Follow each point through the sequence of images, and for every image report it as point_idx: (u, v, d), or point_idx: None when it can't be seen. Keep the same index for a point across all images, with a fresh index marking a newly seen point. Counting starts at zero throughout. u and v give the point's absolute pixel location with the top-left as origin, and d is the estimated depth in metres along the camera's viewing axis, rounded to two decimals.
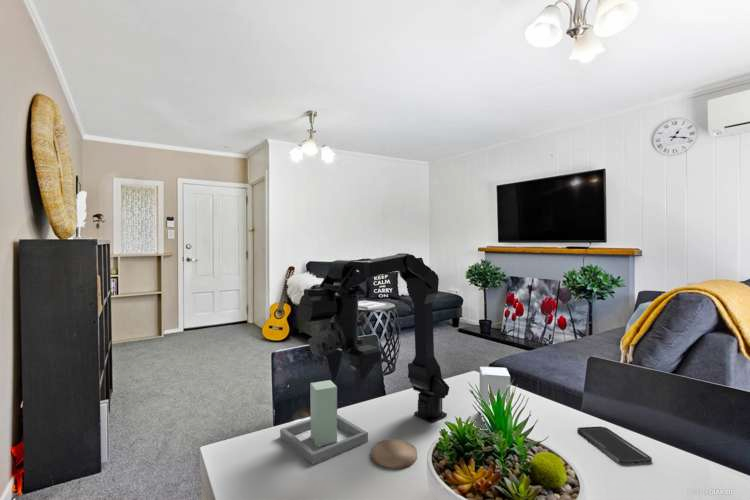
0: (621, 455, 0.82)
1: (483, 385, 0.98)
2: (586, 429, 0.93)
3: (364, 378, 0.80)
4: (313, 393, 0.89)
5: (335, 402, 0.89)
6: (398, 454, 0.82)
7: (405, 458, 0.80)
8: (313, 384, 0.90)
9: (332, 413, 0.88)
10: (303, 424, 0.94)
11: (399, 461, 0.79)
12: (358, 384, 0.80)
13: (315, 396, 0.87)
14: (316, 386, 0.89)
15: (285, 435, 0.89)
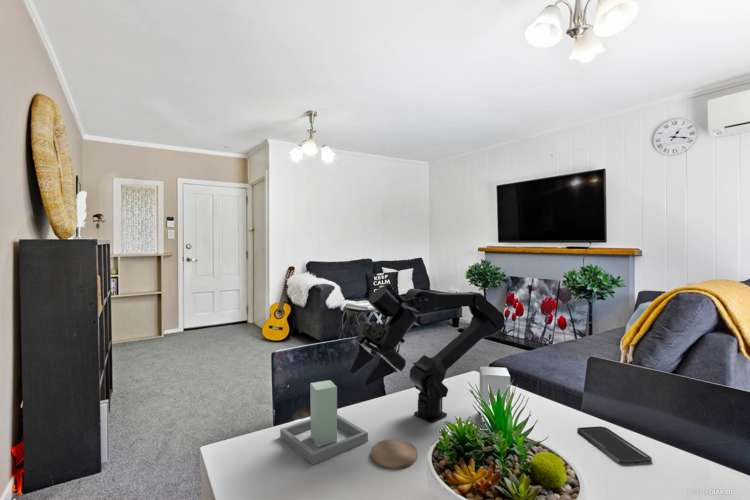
0: (621, 455, 0.82)
1: (483, 385, 0.98)
2: (586, 429, 0.93)
3: (378, 377, 0.90)
4: (313, 393, 0.89)
5: (335, 402, 0.89)
6: (398, 454, 0.82)
7: (405, 458, 0.80)
8: (313, 384, 0.90)
9: (332, 413, 0.88)
10: (303, 424, 0.94)
11: (399, 461, 0.79)
12: (370, 377, 0.89)
13: (315, 396, 0.87)
14: (316, 386, 0.89)
15: (285, 435, 0.89)
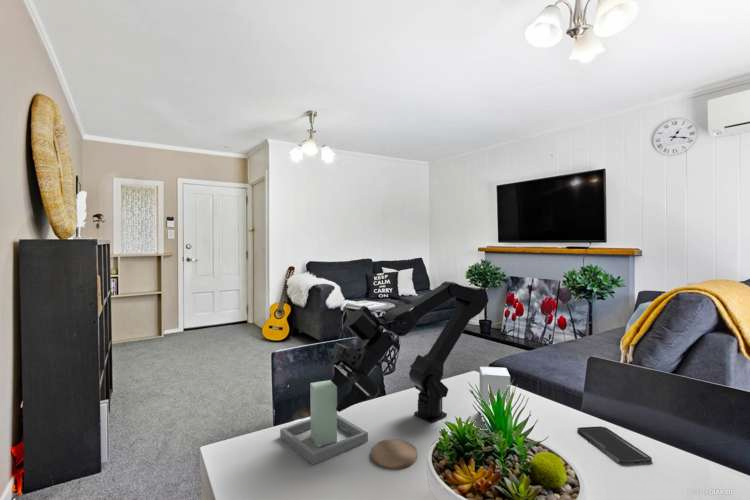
0: (622, 455, 0.82)
1: (483, 385, 0.98)
2: (586, 429, 0.93)
3: (350, 403, 0.87)
4: (313, 393, 0.89)
5: (335, 402, 0.89)
6: (398, 454, 0.82)
7: (405, 458, 0.80)
8: (313, 384, 0.90)
9: (332, 413, 0.88)
10: (303, 424, 0.94)
11: (399, 461, 0.79)
12: (343, 403, 0.86)
13: (315, 396, 0.87)
14: (316, 386, 0.89)
15: (285, 435, 0.89)
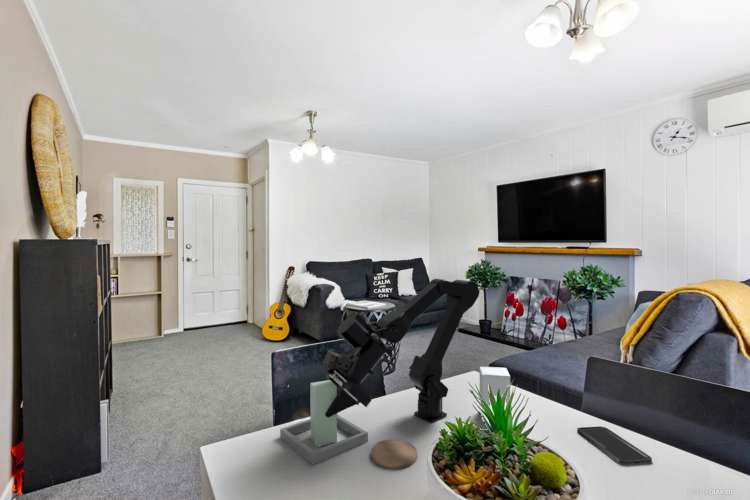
0: (622, 455, 0.82)
1: (483, 385, 0.98)
2: (586, 429, 0.93)
3: (339, 409, 0.88)
4: (313, 393, 0.89)
5: None
6: (398, 454, 0.82)
7: (405, 458, 0.80)
8: (313, 384, 0.90)
9: None
10: (303, 424, 0.94)
11: (399, 461, 0.79)
12: (332, 408, 0.87)
13: (315, 396, 0.87)
14: (316, 386, 0.89)
15: (285, 435, 0.89)
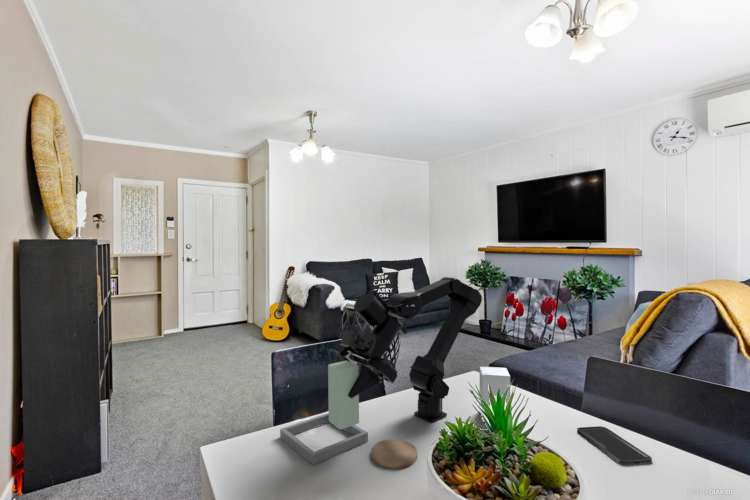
0: (622, 455, 0.82)
1: (483, 385, 0.98)
2: (586, 429, 0.93)
3: (362, 388, 0.84)
4: (333, 374, 0.84)
5: None
6: (398, 454, 0.82)
7: (405, 458, 0.80)
8: (332, 365, 0.86)
9: None
10: (303, 424, 0.94)
11: (399, 461, 0.79)
12: (355, 388, 0.84)
13: (338, 377, 0.83)
14: (337, 367, 0.84)
15: (285, 435, 0.89)
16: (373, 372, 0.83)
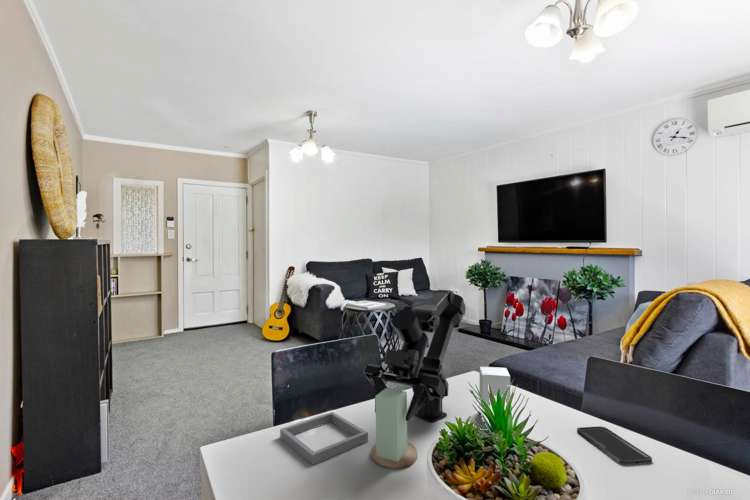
0: (622, 455, 0.82)
1: (483, 385, 0.98)
2: (586, 429, 0.93)
3: (417, 409, 0.82)
4: (385, 406, 0.80)
5: (406, 408, 0.82)
6: None
7: (405, 458, 0.80)
8: (381, 396, 0.80)
9: (404, 421, 0.82)
10: (303, 424, 0.94)
11: (399, 461, 0.79)
12: (412, 411, 0.80)
13: (393, 408, 0.79)
14: (388, 397, 0.80)
15: (285, 435, 0.89)
16: (429, 391, 0.82)
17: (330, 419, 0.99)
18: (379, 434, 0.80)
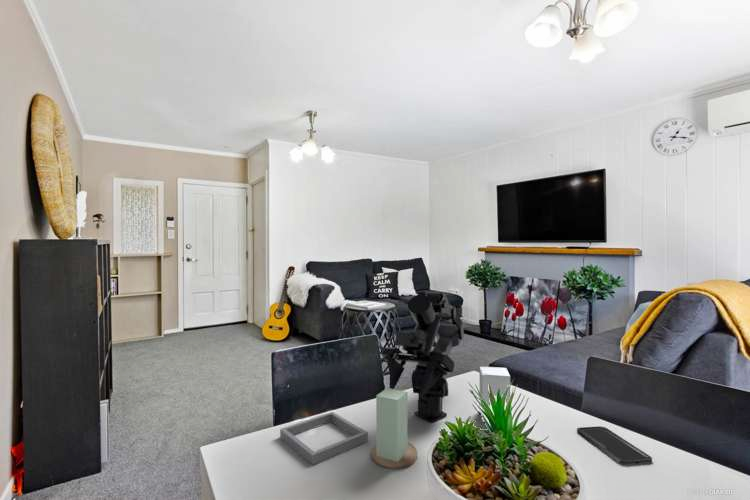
0: (622, 455, 0.82)
1: (483, 385, 0.98)
2: (586, 429, 0.93)
3: (431, 383, 0.89)
4: (386, 405, 0.80)
5: (406, 409, 0.83)
6: None
7: (405, 458, 0.80)
8: (382, 395, 0.81)
9: (405, 421, 0.82)
10: (303, 424, 0.94)
11: (399, 461, 0.79)
12: (426, 385, 0.88)
13: (394, 407, 0.79)
14: (389, 396, 0.80)
15: (285, 435, 0.89)
16: (440, 366, 0.88)
17: (330, 419, 0.99)
18: (379, 434, 0.81)
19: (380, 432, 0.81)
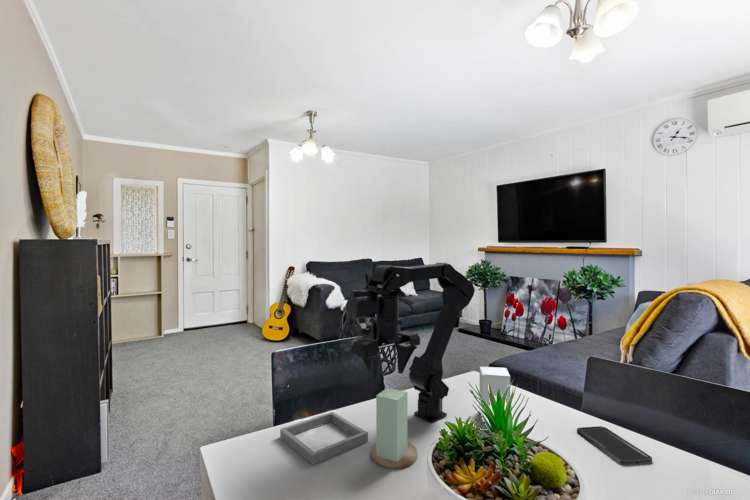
0: (622, 455, 0.82)
1: (483, 385, 0.98)
2: (585, 429, 0.93)
3: (371, 370, 0.91)
4: (386, 405, 0.80)
5: (406, 409, 0.83)
6: None
7: (405, 458, 0.80)
8: (382, 395, 0.81)
9: (405, 421, 0.82)
10: (303, 424, 0.94)
11: (399, 461, 0.79)
12: (369, 373, 0.92)
13: (394, 407, 0.79)
14: (389, 396, 0.80)
15: (285, 435, 0.89)
16: None
17: (330, 419, 0.99)
18: (379, 434, 0.81)
19: (380, 432, 0.81)
